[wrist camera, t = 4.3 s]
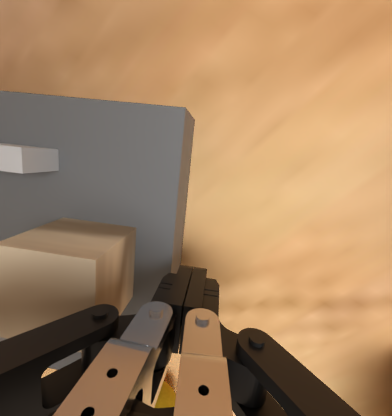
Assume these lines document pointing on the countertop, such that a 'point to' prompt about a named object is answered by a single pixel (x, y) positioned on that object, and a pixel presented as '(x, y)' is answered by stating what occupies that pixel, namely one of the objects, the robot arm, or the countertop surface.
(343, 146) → the countertop surface
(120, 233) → the beech block
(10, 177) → the board
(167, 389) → the lemon
